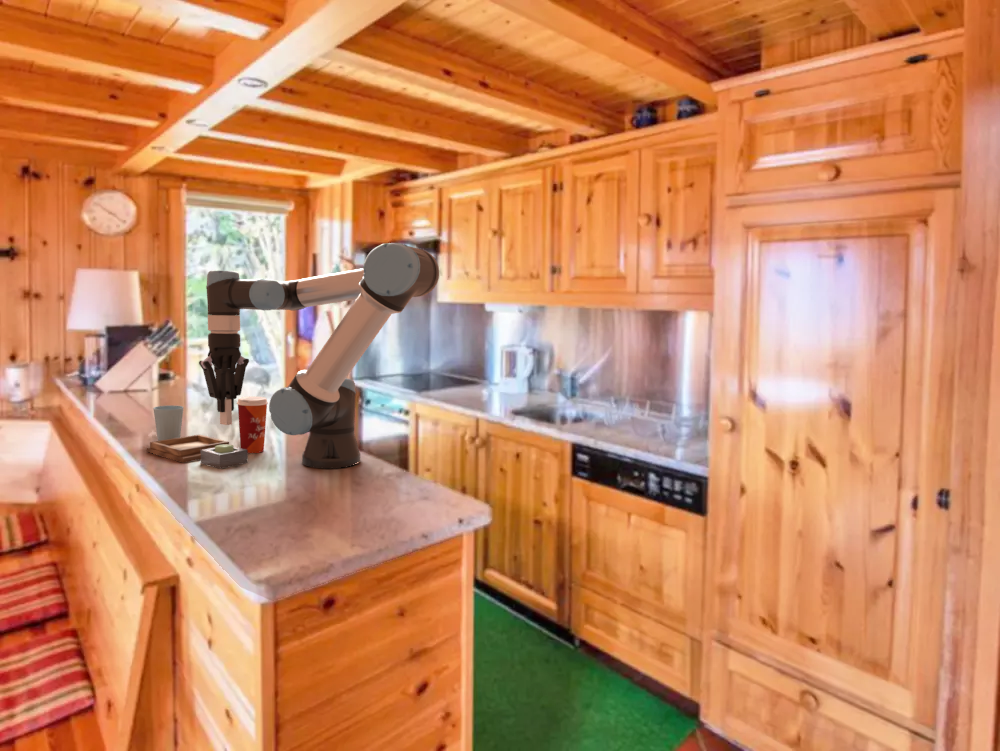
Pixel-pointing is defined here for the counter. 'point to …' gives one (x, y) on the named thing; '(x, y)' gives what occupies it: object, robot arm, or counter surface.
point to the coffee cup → (252, 423)
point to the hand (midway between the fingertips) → (226, 424)
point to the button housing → (224, 457)
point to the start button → (224, 448)
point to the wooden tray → (184, 447)
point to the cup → (168, 421)
